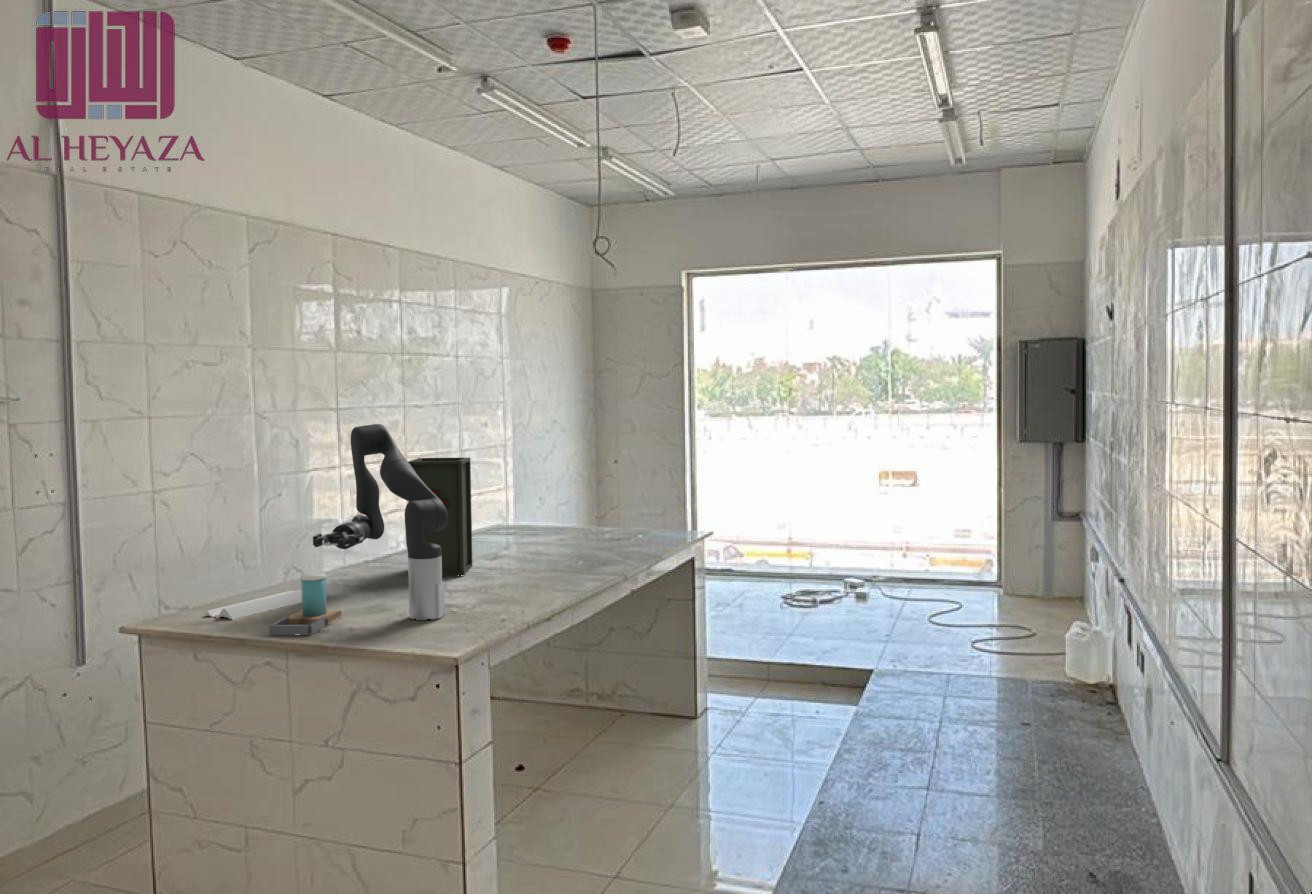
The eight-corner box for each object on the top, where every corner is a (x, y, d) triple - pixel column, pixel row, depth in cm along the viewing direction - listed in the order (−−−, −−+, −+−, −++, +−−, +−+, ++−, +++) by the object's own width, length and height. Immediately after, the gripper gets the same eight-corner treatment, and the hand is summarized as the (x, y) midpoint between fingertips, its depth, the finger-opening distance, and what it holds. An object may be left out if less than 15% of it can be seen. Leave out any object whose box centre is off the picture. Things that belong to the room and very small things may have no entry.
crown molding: (290, 597, 299) (290, 586, 299) (318, 600, 294) (318, 589, 294) (204, 618, 271) (204, 605, 271) (234, 622, 266) (233, 609, 266)
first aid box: (472, 566, 346) (470, 457, 344) (463, 576, 328) (461, 461, 325) (421, 567, 346) (419, 457, 343) (410, 577, 327) (407, 461, 325)
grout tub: (331, 611, 268) (330, 572, 267) (321, 616, 261) (320, 577, 260) (307, 611, 268) (306, 572, 267) (297, 616, 261) (296, 577, 261)
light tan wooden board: (341, 617, 268) (341, 610, 268) (327, 626, 258) (327, 619, 258) (299, 617, 269) (299, 610, 269) (284, 626, 259) (284, 618, 259)
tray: (325, 626, 258) (325, 616, 258) (311, 635, 248) (310, 625, 248) (286, 626, 259) (286, 616, 259) (269, 635, 249) (269, 625, 249)
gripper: (325, 522, 291) (302, 530, 274) (371, 522, 290) (351, 530, 273) (325, 546, 291) (303, 556, 274) (372, 546, 290) (352, 556, 274)
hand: (327, 543), depth 274 cm, fingers open, 6 cm apart
